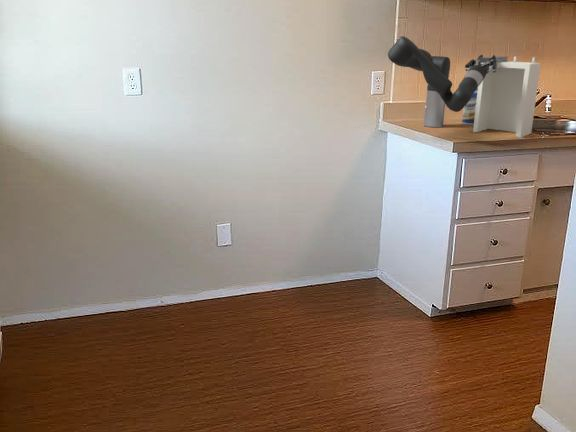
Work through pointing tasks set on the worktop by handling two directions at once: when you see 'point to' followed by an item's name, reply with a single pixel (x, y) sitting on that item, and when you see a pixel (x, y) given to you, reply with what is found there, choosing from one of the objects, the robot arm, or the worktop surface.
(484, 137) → the worktop surface
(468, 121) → the beverage bottle
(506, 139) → the worktop surface
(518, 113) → the shelf
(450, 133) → the worktop surface
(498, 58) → the bar
